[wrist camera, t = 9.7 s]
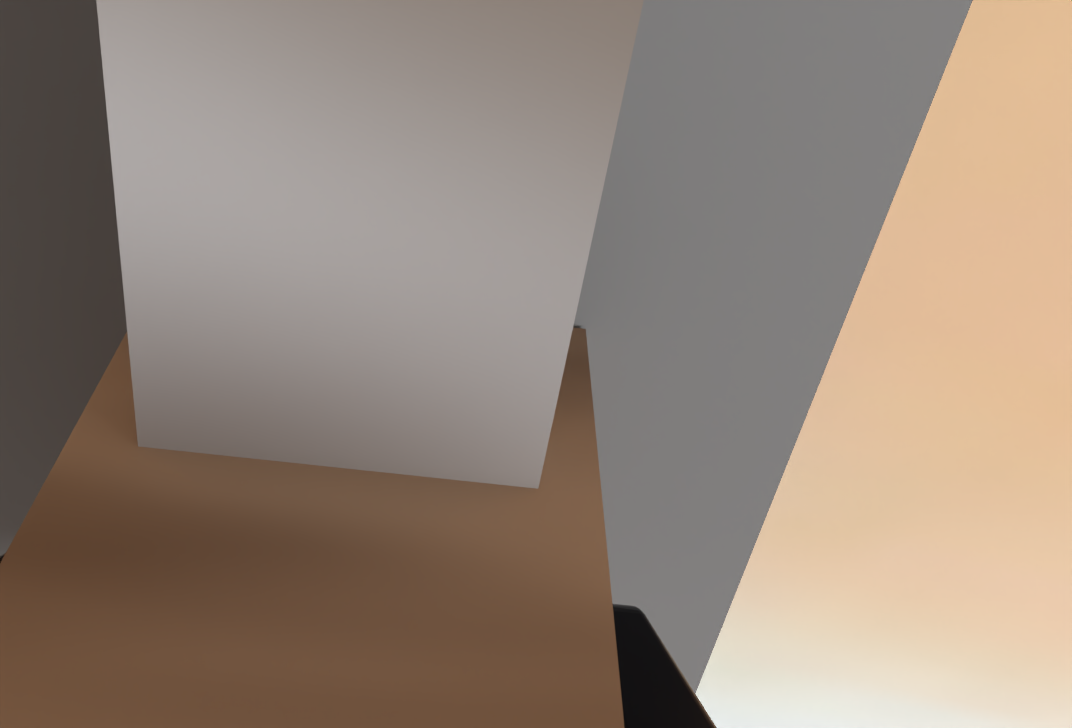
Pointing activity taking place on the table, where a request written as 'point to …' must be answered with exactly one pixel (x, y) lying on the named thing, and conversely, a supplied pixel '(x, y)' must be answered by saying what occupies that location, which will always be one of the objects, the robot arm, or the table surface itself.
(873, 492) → the table surface
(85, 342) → the mat
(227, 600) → the brown grey l-shaped block
